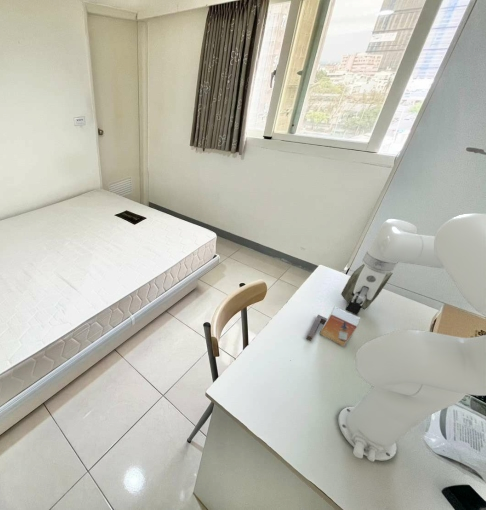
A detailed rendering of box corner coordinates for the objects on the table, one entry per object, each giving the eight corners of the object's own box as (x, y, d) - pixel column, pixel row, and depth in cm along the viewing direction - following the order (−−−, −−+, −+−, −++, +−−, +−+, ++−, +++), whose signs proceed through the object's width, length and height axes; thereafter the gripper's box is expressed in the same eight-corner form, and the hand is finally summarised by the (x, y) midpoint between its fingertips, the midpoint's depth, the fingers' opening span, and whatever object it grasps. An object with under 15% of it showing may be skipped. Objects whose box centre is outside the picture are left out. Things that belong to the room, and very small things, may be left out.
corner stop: (341, 357, 91) (343, 353, 90) (305, 338, 97) (307, 335, 96) (349, 333, 99) (351, 330, 98) (316, 318, 105) (318, 314, 104)
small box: (319, 334, 99) (330, 314, 93) (323, 325, 102) (334, 305, 96) (343, 346, 95) (357, 326, 89) (347, 337, 98) (361, 317, 92)
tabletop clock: (357, 319, 105) (391, 268, 91) (333, 305, 111) (361, 255, 97) (372, 303, 112) (405, 254, 98) (349, 291, 118) (377, 243, 104)
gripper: (392, 280, 71) (363, 324, 81) (398, 254, 82) (371, 296, 92) (359, 268, 75) (334, 312, 85) (368, 245, 86) (346, 286, 96)
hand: (353, 304), depth 88 cm, fingers open, 9 cm apart
